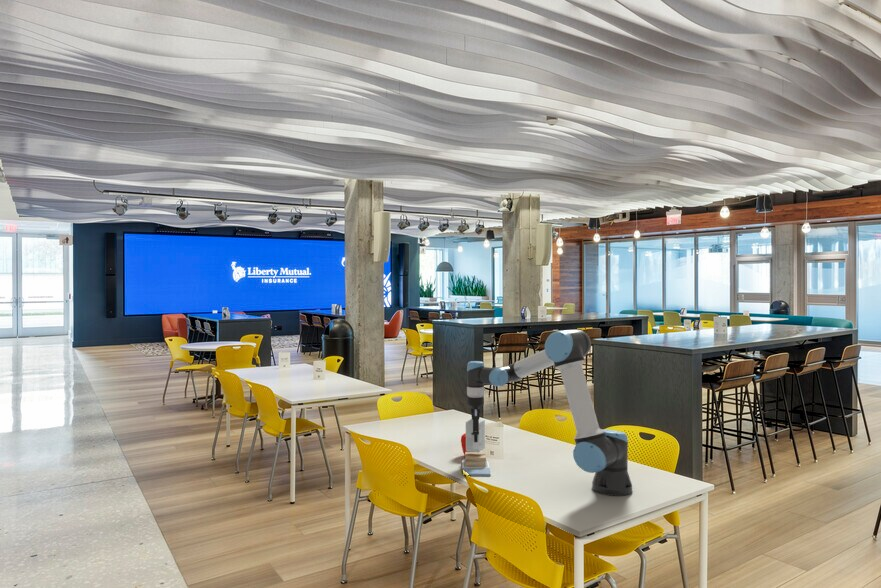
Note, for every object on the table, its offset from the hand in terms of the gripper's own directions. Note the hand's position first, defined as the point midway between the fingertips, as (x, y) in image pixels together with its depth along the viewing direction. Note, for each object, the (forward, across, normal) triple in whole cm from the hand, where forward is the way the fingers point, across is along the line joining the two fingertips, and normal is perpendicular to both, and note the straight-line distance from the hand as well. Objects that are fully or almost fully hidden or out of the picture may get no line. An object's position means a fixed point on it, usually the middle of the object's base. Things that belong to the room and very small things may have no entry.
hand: (475, 446), depth 261 cm
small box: (+2, 0, 0) cm, 2 cm away
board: (+9, -4, 0) cm, 10 cm away
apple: (+9, +16, +2) cm, 19 cm away
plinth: (+8, 0, 0) cm, 8 cm away
